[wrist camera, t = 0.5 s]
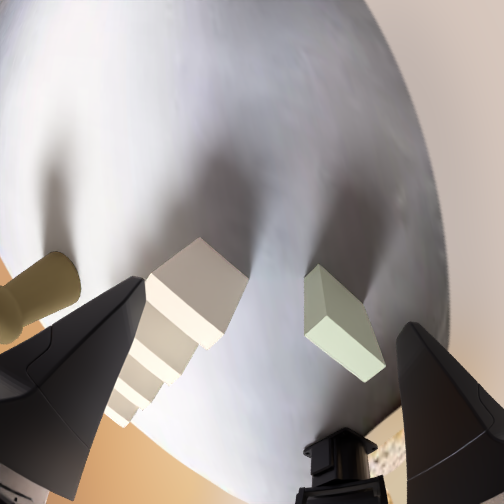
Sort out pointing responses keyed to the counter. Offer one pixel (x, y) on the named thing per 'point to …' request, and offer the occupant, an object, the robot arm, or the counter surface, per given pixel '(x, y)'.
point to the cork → (37, 294)
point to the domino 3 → (197, 292)
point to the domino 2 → (137, 383)
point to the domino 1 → (120, 408)
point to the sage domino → (340, 325)
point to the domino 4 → (161, 345)
